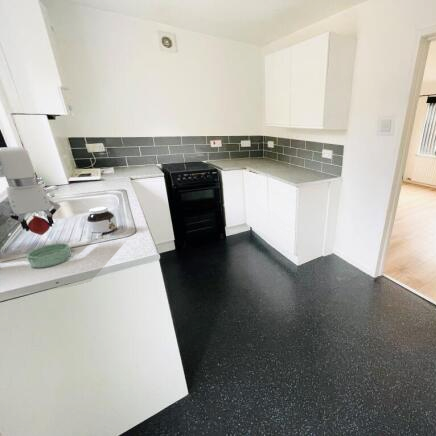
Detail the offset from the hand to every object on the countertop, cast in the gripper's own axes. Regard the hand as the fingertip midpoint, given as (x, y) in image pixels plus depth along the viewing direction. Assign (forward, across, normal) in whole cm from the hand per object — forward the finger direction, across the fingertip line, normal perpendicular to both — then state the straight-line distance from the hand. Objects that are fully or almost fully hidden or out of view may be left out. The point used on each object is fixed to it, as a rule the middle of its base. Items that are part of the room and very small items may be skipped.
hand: (39, 227), depth 95 cm
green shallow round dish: (+10, -1, +12) cm, 16 cm away
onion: (+3, 0, 0) cm, 3 cm away
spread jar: (+10, -20, -9) cm, 24 cm away
